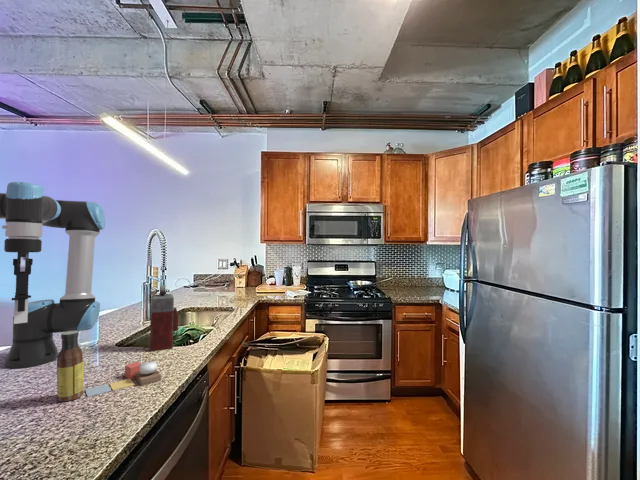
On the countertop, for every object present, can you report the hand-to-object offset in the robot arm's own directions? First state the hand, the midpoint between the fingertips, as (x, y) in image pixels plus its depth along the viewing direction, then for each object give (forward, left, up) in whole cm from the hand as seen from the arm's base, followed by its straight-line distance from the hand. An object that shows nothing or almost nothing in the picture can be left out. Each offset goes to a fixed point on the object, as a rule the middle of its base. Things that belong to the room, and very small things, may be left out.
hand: (20, 322), depth 86 cm
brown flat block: (+1, +32, -24) cm, 41 cm away
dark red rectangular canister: (-32, +47, -25) cm, 62 cm away
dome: (+1, +32, -21) cm, 39 cm away
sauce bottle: (0, +11, -25) cm, 27 cm away
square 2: (0, +25, -24) cm, 35 cm away
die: (-6, +29, -25) cm, 39 cm away
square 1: (0, +18, -24) cm, 31 cm away
